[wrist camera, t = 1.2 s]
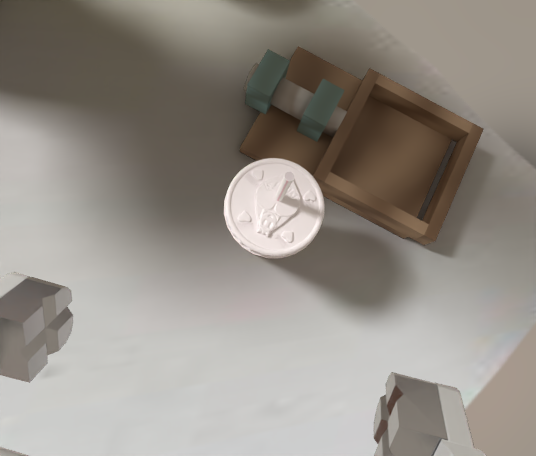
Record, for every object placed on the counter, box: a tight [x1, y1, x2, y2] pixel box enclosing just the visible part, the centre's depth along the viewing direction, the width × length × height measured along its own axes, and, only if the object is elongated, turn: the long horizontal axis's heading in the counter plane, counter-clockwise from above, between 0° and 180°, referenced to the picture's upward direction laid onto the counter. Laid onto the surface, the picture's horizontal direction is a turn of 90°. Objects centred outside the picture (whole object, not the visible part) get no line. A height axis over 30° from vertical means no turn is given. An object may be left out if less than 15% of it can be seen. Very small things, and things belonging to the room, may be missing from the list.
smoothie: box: [224, 158, 325, 258], centre depth 30 cm, size 6×6×14 cm
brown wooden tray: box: [240, 46, 483, 245], centre depth 38 cm, size 20×11×4 cm, turn 63°
